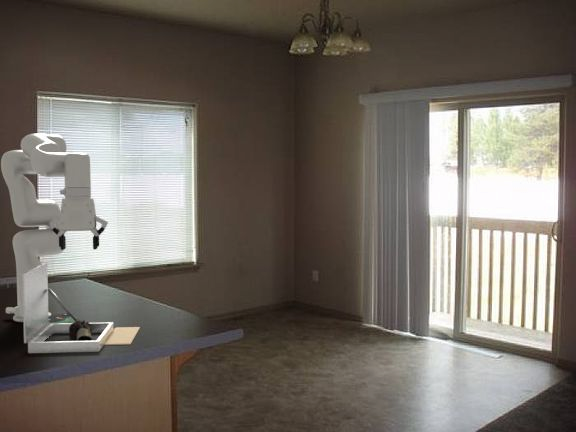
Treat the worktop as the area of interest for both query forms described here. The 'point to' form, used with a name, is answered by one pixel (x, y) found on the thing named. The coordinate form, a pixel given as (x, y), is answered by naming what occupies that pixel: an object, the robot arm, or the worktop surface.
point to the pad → (122, 336)
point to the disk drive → (61, 318)
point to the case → (38, 318)
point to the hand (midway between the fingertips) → (79, 249)
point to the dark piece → (80, 331)
